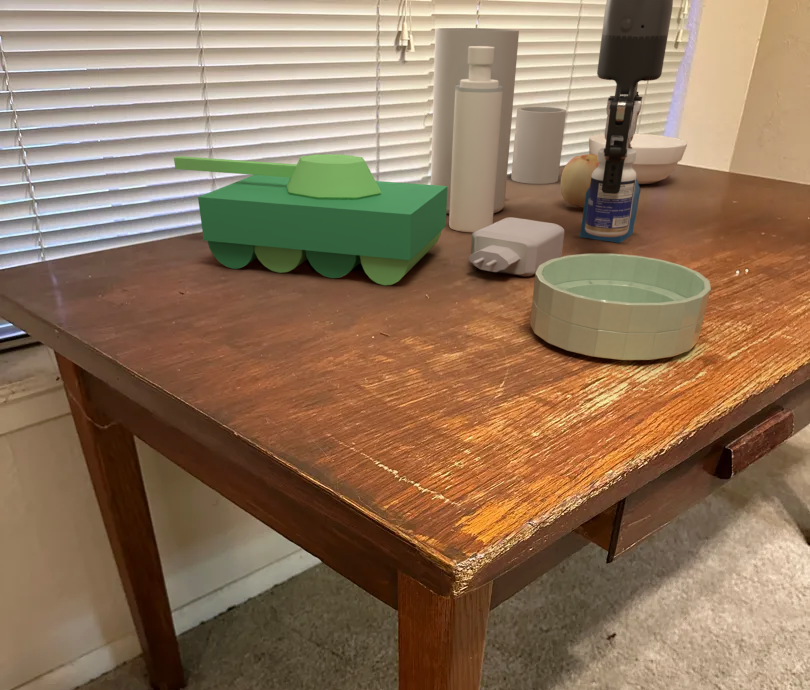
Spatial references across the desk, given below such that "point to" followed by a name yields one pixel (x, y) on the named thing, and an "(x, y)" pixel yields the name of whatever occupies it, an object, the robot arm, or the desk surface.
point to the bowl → (649, 155)
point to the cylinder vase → (446, 76)
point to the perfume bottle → (631, 225)
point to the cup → (538, 144)
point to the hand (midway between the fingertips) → (612, 187)
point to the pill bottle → (611, 200)
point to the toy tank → (318, 216)
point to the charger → (516, 246)
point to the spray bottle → (475, 144)
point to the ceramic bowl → (619, 306)
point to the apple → (578, 178)
